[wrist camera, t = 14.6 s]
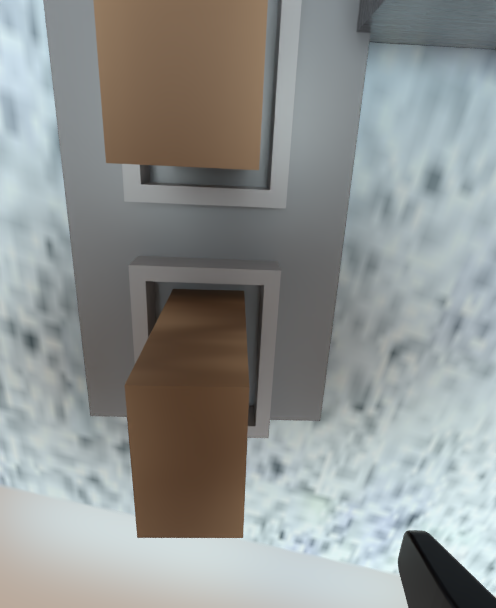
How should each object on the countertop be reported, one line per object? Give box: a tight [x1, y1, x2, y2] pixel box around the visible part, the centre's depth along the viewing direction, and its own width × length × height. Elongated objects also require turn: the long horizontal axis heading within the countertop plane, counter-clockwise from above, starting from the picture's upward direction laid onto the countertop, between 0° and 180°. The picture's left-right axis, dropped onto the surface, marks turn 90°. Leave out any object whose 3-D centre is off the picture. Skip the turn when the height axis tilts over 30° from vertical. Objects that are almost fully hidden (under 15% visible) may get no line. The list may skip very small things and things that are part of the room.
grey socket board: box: [43, 0, 371, 438], centre depth 15 cm, size 11×18×2 cm, turn 177°
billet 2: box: [124, 289, 249, 538], centre depth 14 cm, size 3×5×8 cm, turn 178°
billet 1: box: [93, 0, 268, 170], centre depth 10 cm, size 3×5×8 cm, turn 177°
